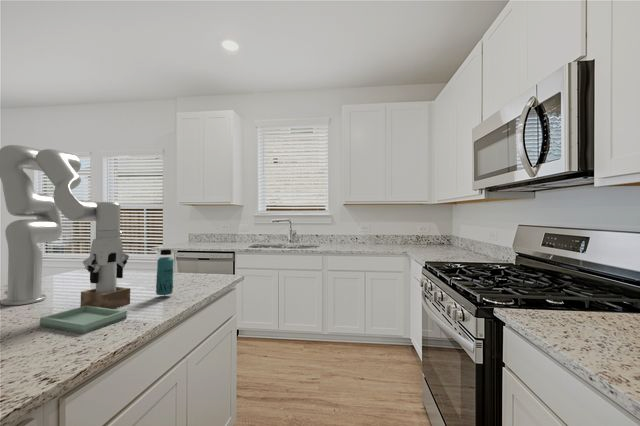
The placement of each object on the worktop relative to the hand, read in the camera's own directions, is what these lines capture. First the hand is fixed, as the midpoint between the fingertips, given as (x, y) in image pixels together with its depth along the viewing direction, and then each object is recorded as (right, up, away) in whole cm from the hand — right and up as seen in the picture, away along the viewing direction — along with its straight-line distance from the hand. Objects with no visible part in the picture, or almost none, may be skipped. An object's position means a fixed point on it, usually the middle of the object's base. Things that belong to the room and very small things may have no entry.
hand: (107, 280), depth 115 cm
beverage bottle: (+14, -10, +14) cm, 23 cm away
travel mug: (0, -10, 0) cm, 10 cm away
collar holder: (0, -10, 0) cm, 10 cm away
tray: (+5, -10, -17) cm, 20 cm away
